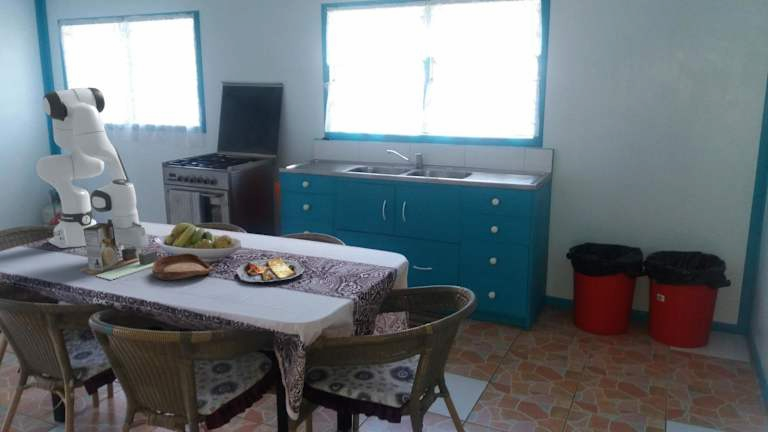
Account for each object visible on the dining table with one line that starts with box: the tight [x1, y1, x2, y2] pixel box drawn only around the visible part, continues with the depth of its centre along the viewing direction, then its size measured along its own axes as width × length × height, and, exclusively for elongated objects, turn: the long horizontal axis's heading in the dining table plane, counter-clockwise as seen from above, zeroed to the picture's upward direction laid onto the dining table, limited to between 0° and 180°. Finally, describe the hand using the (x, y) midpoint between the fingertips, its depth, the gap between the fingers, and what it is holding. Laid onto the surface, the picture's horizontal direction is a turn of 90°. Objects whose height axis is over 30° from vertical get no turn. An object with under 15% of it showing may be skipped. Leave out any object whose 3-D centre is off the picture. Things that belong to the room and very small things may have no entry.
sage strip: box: [95, 249, 158, 281], centre depth 228 cm, size 9×22×4 cm, turn 148°
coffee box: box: [83, 222, 119, 271], centre depth 230 cm, size 9×6×16 cm
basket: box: [152, 252, 213, 281], centre depth 223 cm, size 22×20×5 cm
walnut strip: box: [78, 246, 140, 276], centre depth 234 cm, size 9×22×4 cm, turn 148°
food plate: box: [235, 256, 305, 283], centre depth 222 cm, size 25×23×4 cm
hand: (130, 254), depth 241 cm, fingers open, 8 cm apart
